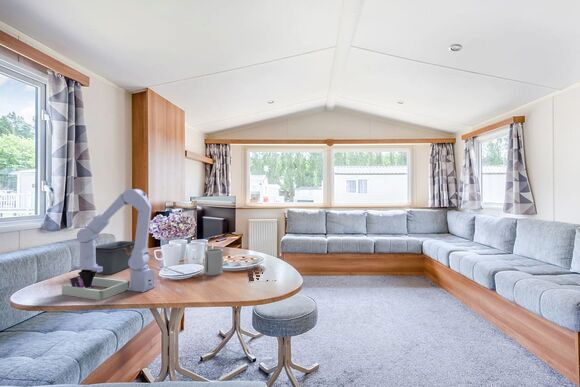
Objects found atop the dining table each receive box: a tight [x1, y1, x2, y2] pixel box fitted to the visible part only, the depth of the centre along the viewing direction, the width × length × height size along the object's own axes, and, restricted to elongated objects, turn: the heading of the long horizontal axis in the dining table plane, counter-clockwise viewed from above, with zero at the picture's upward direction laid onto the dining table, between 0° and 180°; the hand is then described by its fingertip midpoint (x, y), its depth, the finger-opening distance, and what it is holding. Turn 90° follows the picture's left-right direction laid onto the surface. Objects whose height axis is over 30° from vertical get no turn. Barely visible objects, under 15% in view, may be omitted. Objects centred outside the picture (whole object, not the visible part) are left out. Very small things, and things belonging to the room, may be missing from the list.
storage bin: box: [96, 240, 135, 275], centre depth 161 cm, size 21×16×14 cm
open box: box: [61, 276, 130, 301], centre depth 128 cm, size 21×14×4 cm, turn 73°
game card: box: [69, 275, 94, 289], centre depth 129 cm, size 7×5×9 cm
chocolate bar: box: [246, 268, 263, 282], centre depth 157 cm, size 27×14×1 cm, turn 10°
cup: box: [204, 248, 224, 276], centre depth 158 cm, size 9×9×12 cm
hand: (87, 287), depth 129 cm, fingers closed
